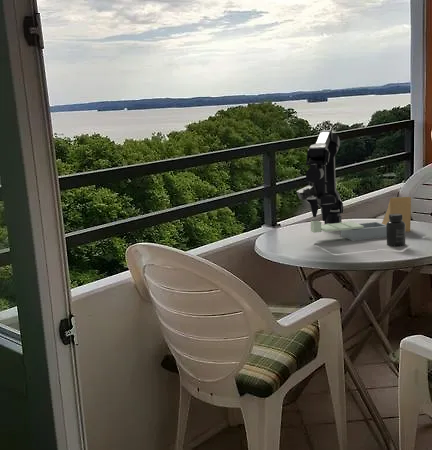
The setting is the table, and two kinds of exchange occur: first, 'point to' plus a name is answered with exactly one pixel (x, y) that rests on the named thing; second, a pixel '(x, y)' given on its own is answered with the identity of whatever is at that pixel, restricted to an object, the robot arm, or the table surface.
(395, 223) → the supplement bottle
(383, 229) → the tub
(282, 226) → the table surface
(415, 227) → the table surface
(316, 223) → the lid
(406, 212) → the sandwich container
